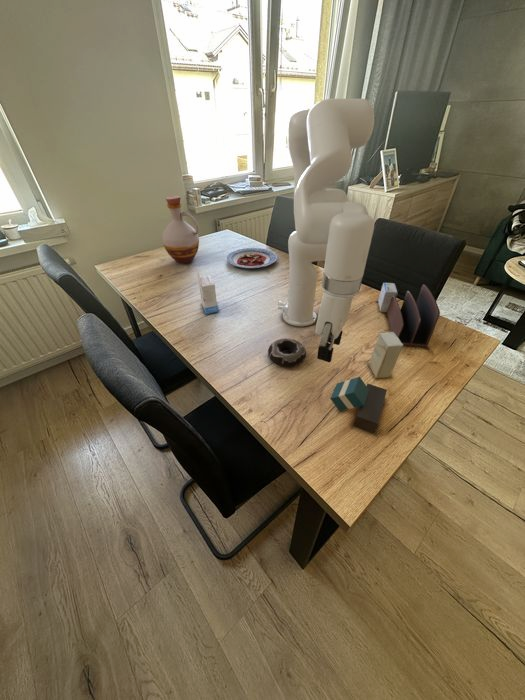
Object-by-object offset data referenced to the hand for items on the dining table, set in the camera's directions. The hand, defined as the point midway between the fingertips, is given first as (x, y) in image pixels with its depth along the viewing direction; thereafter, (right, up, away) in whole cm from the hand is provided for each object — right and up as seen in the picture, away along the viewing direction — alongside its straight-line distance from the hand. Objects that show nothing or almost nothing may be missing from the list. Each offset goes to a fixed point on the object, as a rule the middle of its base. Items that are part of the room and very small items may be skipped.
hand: (328, 350), depth 68 cm
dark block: (+11, -16, +5) cm, 20 cm away
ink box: (-37, +17, +45) cm, 60 cm away
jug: (-56, +47, +82) cm, 109 cm away
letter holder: (+35, +7, +33) cm, 49 cm away
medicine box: (+32, +17, +45) cm, 58 cm away
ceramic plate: (-21, +46, +81) cm, 95 cm away
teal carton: (+6, -14, +7) cm, 17 cm away
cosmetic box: (+19, -6, +17) cm, 26 cm away
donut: (-8, -2, +22) cm, 24 cm away
